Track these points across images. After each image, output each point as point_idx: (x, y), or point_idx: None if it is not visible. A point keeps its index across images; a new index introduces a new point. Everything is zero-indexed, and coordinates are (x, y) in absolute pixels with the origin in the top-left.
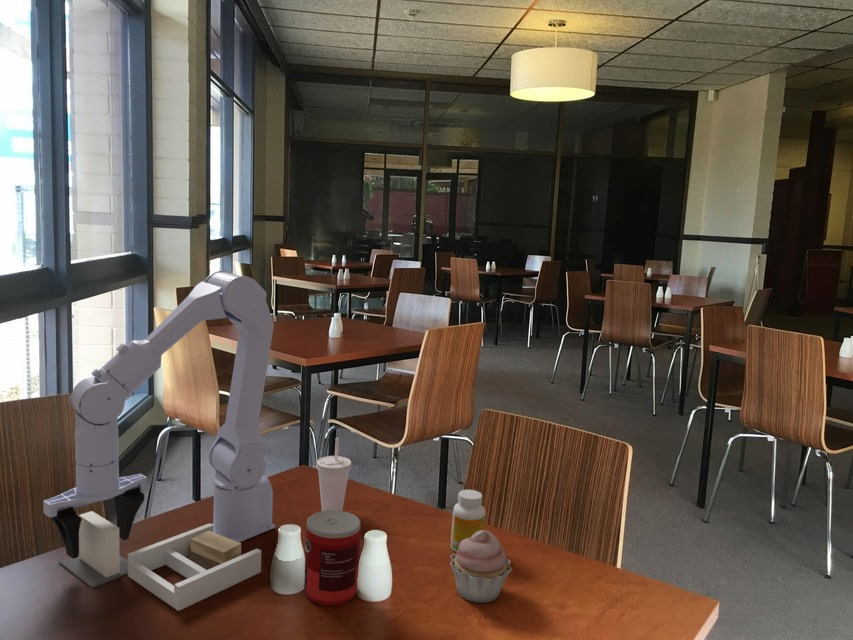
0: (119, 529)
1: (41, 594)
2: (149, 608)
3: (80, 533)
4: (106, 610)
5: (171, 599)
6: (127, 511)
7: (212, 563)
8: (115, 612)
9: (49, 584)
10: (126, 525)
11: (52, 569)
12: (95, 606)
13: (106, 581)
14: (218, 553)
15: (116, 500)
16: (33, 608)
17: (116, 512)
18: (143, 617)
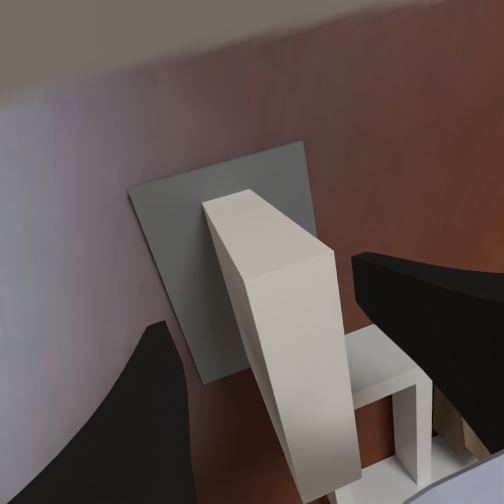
0: (373, 284)
1: (61, 367)
2: (288, 478)
3: (223, 250)
4: (211, 469)
5: (330, 494)
6: (461, 404)
7: (455, 424)
8: (226, 478)
9: (87, 320)
10: (402, 347)
11: (100, 224)
12: (193, 451)
13: (242, 368)
14: (485, 456)
15: (499, 325)
16: (39, 427)
17: (428, 283)
18: (268, 500)
